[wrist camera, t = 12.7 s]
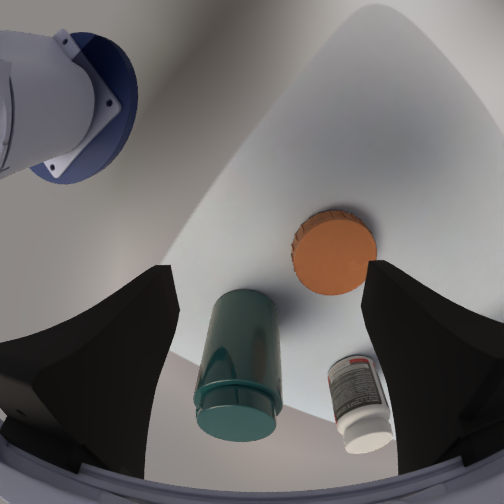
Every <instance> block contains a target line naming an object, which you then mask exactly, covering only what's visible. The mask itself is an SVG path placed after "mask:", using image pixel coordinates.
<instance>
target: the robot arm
mask: <svg viewBox="0 0 504 504" xmlns="http://www.w3.org/2000/svg"><path fill="white" fill-rule="evenodd" d="M67 40H68V42H67V44H66V45H65V42H66V41H67ZM110 100H112V102H113V104H112V106H109V101H110ZM121 109H122V105H121V103H120V102H119V101H118V99H117V98H116V97H115V95H114V94H113V93H112V91H111V90H110V89H109V87H108V86H107V85H106V83H105V82H104V80H103V79H102V78H101V76H100V75H99V74H98V72H97V71H96V70H95V68H94V67H93V66H92V64H91V63H90V61H89V60H88V59H87V57H86V56H85V55H84V53H83V52H82V51H81V49H80V48H79V46H78V45H77V44H76V42H75V41H74V40H73V38H72V37H71V35H70V34H69V33H68V31H67V30H65V29H60V30H59V31H58V32H57V33H56V34H55V35H54V36H53V37H49V36H44V35H37V34H31V33H24V32H16V31H8V30H4V31H0V179H3V178H5V177H7V176H9V175H12V174H14V173H16V172H19V171H21V170H23V169H26V168H28V167H31V166H33V165H36V164H38V163H41V162H44V164H45V165H46V167H47V168H48V170H49V171H50V173H51V174H52V176H53V177H54V178H59V177H60V176H62V174H63V173H64V172H65V171H66V170H67V168H68V167H69V166H70V165H71V164H72V162H73V161H74V160H75V159H76V158H77V157H78V156H79V154H80V153H81V152H82V151H83V150H84V149H85V148H86V147H87V146H88V144H89V143H90V142H91V141H92V140H93V139H94V138H95V137H96V136H97V135H98V134H99V133H100V132H101V131H102V130H103V129H104V128H105V127H106V126H107V125H108V124H109V123H110V122H111V121H112V120H113V119H114V118H115V117H116V116H117V115H118V114H119V113H120V111H121ZM53 165H54V166H55V169H54V168H53ZM361 309H362V313H363V318H364V322H365V326H366V329H367V332H368V334H369V337H370V339H371V342H372V345H373V347H374V350H375V352H376V355H377V357H378V360H379V363H380V365H381V368H382V371H383V373H384V376H385V380H386V383H387V387H388V391H389V396H390V401H391V406H392V411H393V418H394V424H395V432H396V441H397V451H398V476H394V477H390V478H386V479H381V480H377V481H372V482H367V483H361V484H356V485H350V486H343V487H336V488H328V489H318V490H307V491H292V492H233V491H232V492H231V491H218V490H207V489H196V488H189V487H181V486H175V485H169V484H163V483H158V482H153V481H147V480H144V467H145V451H146V443H147V435H148V427H149V421H150V415H151V409H152V404H153V399H154V395H155V390H156V386H157V383H158V379H159V376H160V373H161V370H162V368H163V365H164V362H165V359H166V357H167V354H168V351H169V348H170V346H171V343H172V340H173V337H174V334H175V331H176V327H177V322H178V317H179V312H180V308H179V303H178V299H177V294H176V289H175V285H174V280H173V275H172V270H171V265H155V266H153V267H151V268H150V269H148V270H146V271H145V272H144V273H142V274H141V275H139V276H138V277H136V278H135V279H133V280H132V281H131V282H129V283H128V284H126V285H125V286H124V287H122V288H121V289H119V290H118V291H116V292H115V293H113V294H112V295H110V296H109V297H107V298H106V299H104V300H103V301H101V302H100V303H98V304H97V305H95V306H93V307H92V308H90V309H88V310H86V311H84V312H83V313H81V314H79V315H77V316H75V317H73V318H71V319H69V320H67V321H64V322H62V323H60V324H58V325H56V326H53V327H51V328H49V329H46V330H43V331H40V332H38V333H35V334H32V335H29V336H26V337H22V338H19V339H14V340H10V341H6V342H2V343H0V408H1V409H2V410H3V412H4V413H5V414H6V415H7V417H6V420H5V421H4V422H3V421H2V420H1V419H0V498H1V499H3V500H4V501H5V502H6V503H8V504H504V323H501V322H498V321H495V320H492V319H490V318H487V317H485V316H482V315H480V314H477V313H475V312H473V311H470V310H468V309H466V308H464V307H462V306H460V305H458V304H456V303H454V302H452V301H450V300H448V299H446V298H445V297H443V296H441V295H440V294H438V293H436V292H435V291H433V290H431V289H430V288H428V287H426V286H425V285H423V284H422V283H420V282H419V281H417V280H416V279H414V278H413V277H411V276H409V275H408V274H406V273H405V272H403V271H402V270H400V269H399V268H397V267H395V266H394V265H392V264H390V263H389V262H387V261H385V260H373V261H369V262H368V268H367V274H366V280H365V286H364V292H363V297H362V302H361Z"/></svg>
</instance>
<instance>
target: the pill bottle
mask: <svg viewBox="0 0 504 504" xmlns="http://www.w3.org/2000/svg"><path fill="white" fill-rule="evenodd" d="M328 383H329V388H330V393H331V398H332V404H333V410H334V415H335V421H336V427H337V430H338V431H339V433H341V434H342V435H343V440H344V445H345V450H346V451H347V452H349V453H352V454H361V453H367V452H371V451H373V450H376V449H378V448H381V447H383V446H384V445H386V444H387V443H389V442H390V441H391V439H392V437H393V434H392V430H391V425H390V423H389V422H388V420H389V418H390V409H389V406H388V403H387V400H386V397H385V394H384V391H383V388H382V385H381V382H380V379H379V376H378V373H377V370H376V366H375V364H374V362H373V361H372V360H371V359H370V358H368V357H365V356H352V357H348V358H345V359H343V360H341V361H339V362H338V363H336V364H335V365H334V366H333V367H332V368H331V369H330V371H329V373H328Z"/></svg>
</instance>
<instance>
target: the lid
mask: <svg viewBox="0 0 504 504" xmlns="http://www.w3.org/2000/svg"><path fill="white" fill-rule="evenodd" d="M371 234H372V233H371V232H370V230H369V229H368V228H367V226H365V224H364V223H363V222H362V220H361V219H360V218H359V219H358V218H357V217H355V216H354V215H353V214H352V213H351V214H349V213H347V212H343V211H342V210H341V211H332V210H330V211H327V212H323V213H320V212H319V214H317V215H315V216H313V217H312V218H309V220H307V221H306V222H305V223H304V224H303V225H301V227H300V229H299V230H298V232H297V233H296V234H295V238H294V241H293V244H291V245H292V253H291V257H292V262H294V263H293V265H294V271H295V272H296V274H297V276H298V278H299V280H300V281H301V283H302V284H303V285H304V286H305V287H307V288H308V289H310V290H311V291H313V292H315V293H318V294H322V295H340V294H344V293H347V292H349V291H352V290H353V289H355V288H357V287H358V286H360V285H361V284H362V283H363V282H364V281H365V280H366V274H367V268H368V262H369V261H373V260H376V257H377V249H376V244H375V240H374V238H373V236H372V235H371Z"/></svg>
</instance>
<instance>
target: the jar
mask: <svg viewBox="0 0 504 504" xmlns="http://www.w3.org/2000/svg"><path fill="white" fill-rule="evenodd" d="M193 400H194V404H195V406H196V418H197V423H198V425H199V427H200V428H201V429H202V430H203V431H204V432H206V433H207V434H209V435H211V436H213V437H216V438H219V439H222V440H227V441H235V442H249V441H256V440H260V439H263V438H265V437H267V436H269V435H270V434H272V433H273V431H274V430H275V428H276V416H278V414H279V413H280V412H281V410H282V407H283V394H282V371H281V350H280V331H279V314H278V310H277V308H276V306H275V304H274V303H273V302H272V301H271V300H270V299H269V298H268V297H267V296H265V295H263V294H261V293H259V292H256V291H252V290H236V291H232V292H229V293H227V294H225V295H224V296H222V297H221V298H220V299H219V300H218V301H217V302H216V303H215V305H214V307H213V311H212V315H211V319H210V324H209V328H208V333H207V337H206V342H205V346H204V351H203V355H202V360H201V364H200V369H199V373H198V378H197V383H196V387H195V392H194V398H193Z"/></svg>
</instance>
